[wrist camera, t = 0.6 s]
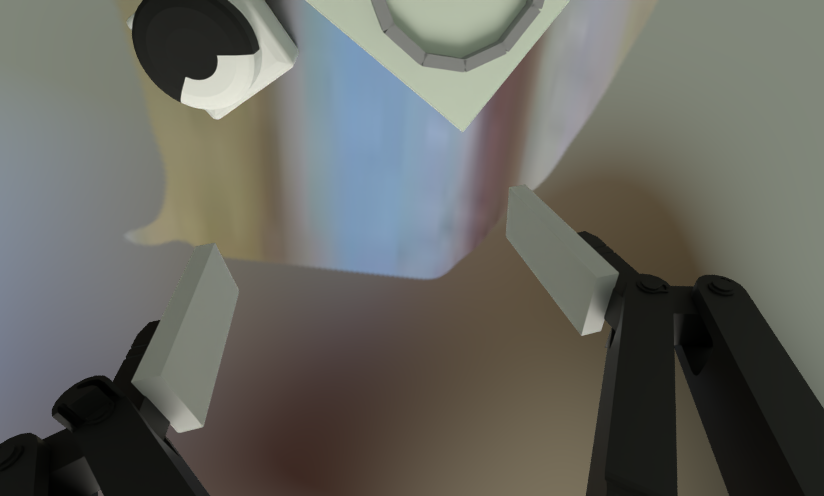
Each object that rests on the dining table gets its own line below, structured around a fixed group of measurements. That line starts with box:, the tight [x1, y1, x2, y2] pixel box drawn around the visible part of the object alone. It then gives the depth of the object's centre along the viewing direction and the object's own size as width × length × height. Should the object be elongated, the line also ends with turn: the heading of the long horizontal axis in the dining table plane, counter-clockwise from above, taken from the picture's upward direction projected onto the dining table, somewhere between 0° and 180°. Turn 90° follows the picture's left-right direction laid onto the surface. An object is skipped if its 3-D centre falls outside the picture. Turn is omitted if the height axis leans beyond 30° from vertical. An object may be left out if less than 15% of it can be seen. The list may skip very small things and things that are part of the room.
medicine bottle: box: [127, 0, 299, 119], centre depth 25 cm, size 7×7×12 cm
